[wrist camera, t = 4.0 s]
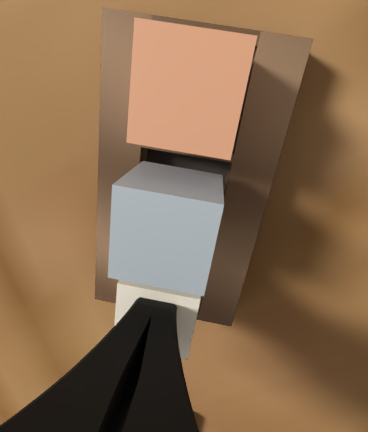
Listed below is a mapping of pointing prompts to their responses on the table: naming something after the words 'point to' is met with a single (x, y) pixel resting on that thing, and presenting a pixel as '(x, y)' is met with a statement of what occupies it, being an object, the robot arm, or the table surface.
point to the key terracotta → (187, 87)
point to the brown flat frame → (230, 169)
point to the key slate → (165, 226)
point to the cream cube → (183, 301)
